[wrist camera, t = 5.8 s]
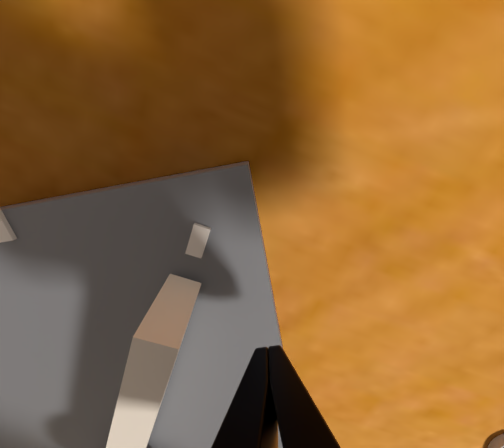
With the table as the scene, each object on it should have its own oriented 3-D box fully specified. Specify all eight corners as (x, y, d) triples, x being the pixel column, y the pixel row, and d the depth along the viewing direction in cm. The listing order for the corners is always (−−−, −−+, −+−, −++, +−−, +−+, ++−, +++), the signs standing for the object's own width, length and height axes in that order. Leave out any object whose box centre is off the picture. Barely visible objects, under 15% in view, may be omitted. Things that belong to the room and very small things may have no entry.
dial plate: (301, 450, 15) (305, 475, 14) (8, 479, 16) (-10, 505, 15) (248, 157, 9) (247, 161, 8) (-206, 242, 10) (-261, 256, 9)
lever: (151, 483, 14) (125, 572, 11) (97, 471, 14) (55, 561, 11) (224, 290, 9) (212, 358, 7) (145, 265, 9) (96, 327, 6)
